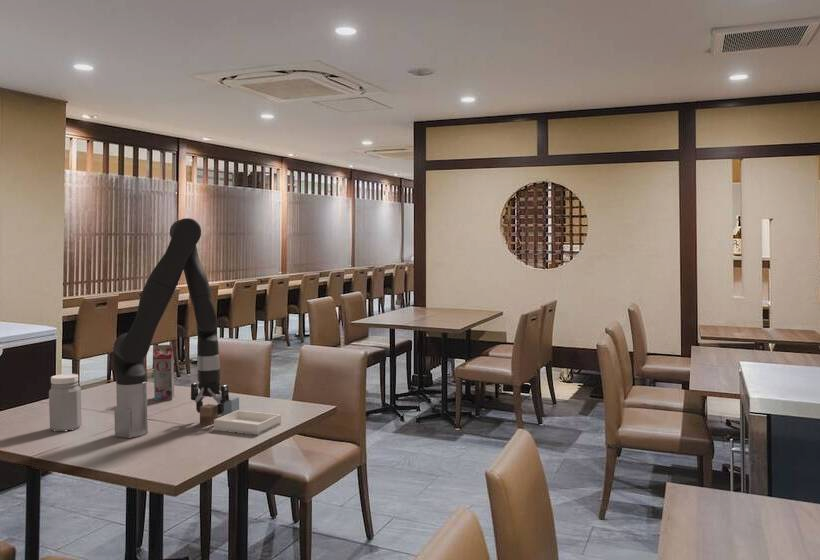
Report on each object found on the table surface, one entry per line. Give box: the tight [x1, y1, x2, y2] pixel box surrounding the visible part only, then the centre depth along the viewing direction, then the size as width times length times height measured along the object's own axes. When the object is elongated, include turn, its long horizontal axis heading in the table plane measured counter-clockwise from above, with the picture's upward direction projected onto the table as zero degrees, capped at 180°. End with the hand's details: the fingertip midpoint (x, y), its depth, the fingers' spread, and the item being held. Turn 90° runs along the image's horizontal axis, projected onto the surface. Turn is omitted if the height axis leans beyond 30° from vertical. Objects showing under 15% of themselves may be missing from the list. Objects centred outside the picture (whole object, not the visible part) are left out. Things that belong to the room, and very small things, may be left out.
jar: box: [48, 373, 83, 432], centre depth 216 cm, size 10×10×18 cm
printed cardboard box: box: [153, 344, 175, 402], centre depth 259 cm, size 7×7×22 cm
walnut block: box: [199, 403, 220, 426], centre depth 224 cm, size 4×4×6 cm
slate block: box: [221, 396, 240, 416], centre depth 235 cm, size 4×4×6 cm
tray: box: [213, 409, 282, 436], centre depth 218 cm, size 14×18×4 cm
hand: (210, 413), depth 224 cm, fingers open, 8 cm apart
